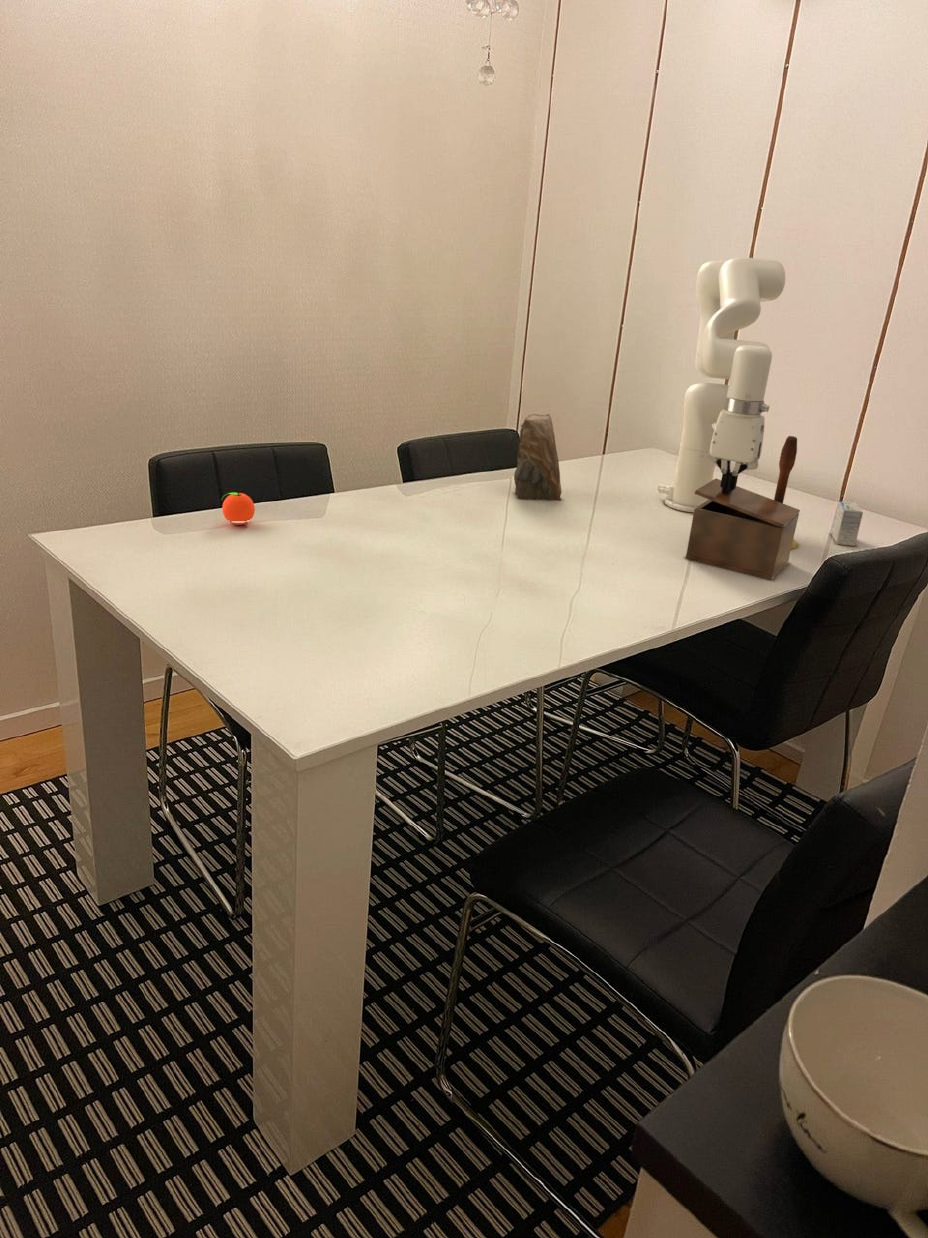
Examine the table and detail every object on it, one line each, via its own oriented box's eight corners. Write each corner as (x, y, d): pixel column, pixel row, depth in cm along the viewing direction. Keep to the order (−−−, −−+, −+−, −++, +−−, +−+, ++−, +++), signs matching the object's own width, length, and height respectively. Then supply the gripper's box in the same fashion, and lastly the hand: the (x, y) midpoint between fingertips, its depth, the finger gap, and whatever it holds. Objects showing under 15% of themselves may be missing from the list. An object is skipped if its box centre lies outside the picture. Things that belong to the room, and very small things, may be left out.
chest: (685, 558, 206) (694, 508, 202) (705, 543, 217) (714, 495, 213) (771, 580, 198) (782, 528, 193) (787, 562, 209) (799, 513, 204)
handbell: (759, 529, 230) (780, 428, 220) (806, 543, 223) (830, 439, 212) (733, 538, 222) (754, 434, 212) (780, 553, 214) (804, 445, 204)
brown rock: (514, 499, 238) (521, 421, 230) (504, 485, 250) (511, 410, 242) (561, 500, 241) (571, 423, 233) (550, 486, 252) (558, 412, 244)
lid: (694, 493, 201) (695, 490, 200) (714, 481, 212) (715, 478, 211) (782, 528, 193) (784, 524, 193) (798, 513, 204) (800, 509, 204)
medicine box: (855, 546, 223) (864, 512, 220) (835, 544, 224) (844, 509, 220) (849, 536, 230) (857, 502, 227) (830, 534, 231) (838, 500, 228)
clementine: (212, 524, 204) (210, 492, 201) (230, 516, 210) (229, 485, 207) (243, 531, 201) (242, 499, 198) (261, 522, 207) (260, 491, 204)
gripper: (783, 410, 196) (765, 495, 203) (714, 399, 203) (699, 481, 210) (774, 415, 190) (756, 502, 197) (703, 403, 197) (688, 488, 204)
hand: (727, 491), depth 204 cm, fingers closed
